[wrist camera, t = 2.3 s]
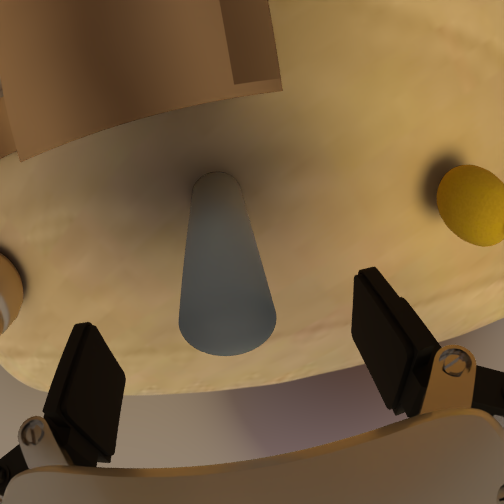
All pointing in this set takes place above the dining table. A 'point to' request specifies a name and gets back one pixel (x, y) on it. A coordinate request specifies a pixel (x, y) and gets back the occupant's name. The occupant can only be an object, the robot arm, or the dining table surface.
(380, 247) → the dining table surface
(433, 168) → the dining table surface
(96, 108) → the stand
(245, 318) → the peg
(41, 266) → the dining table surface
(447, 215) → the lemon
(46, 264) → the dining table surface
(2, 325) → the plastic bottle
